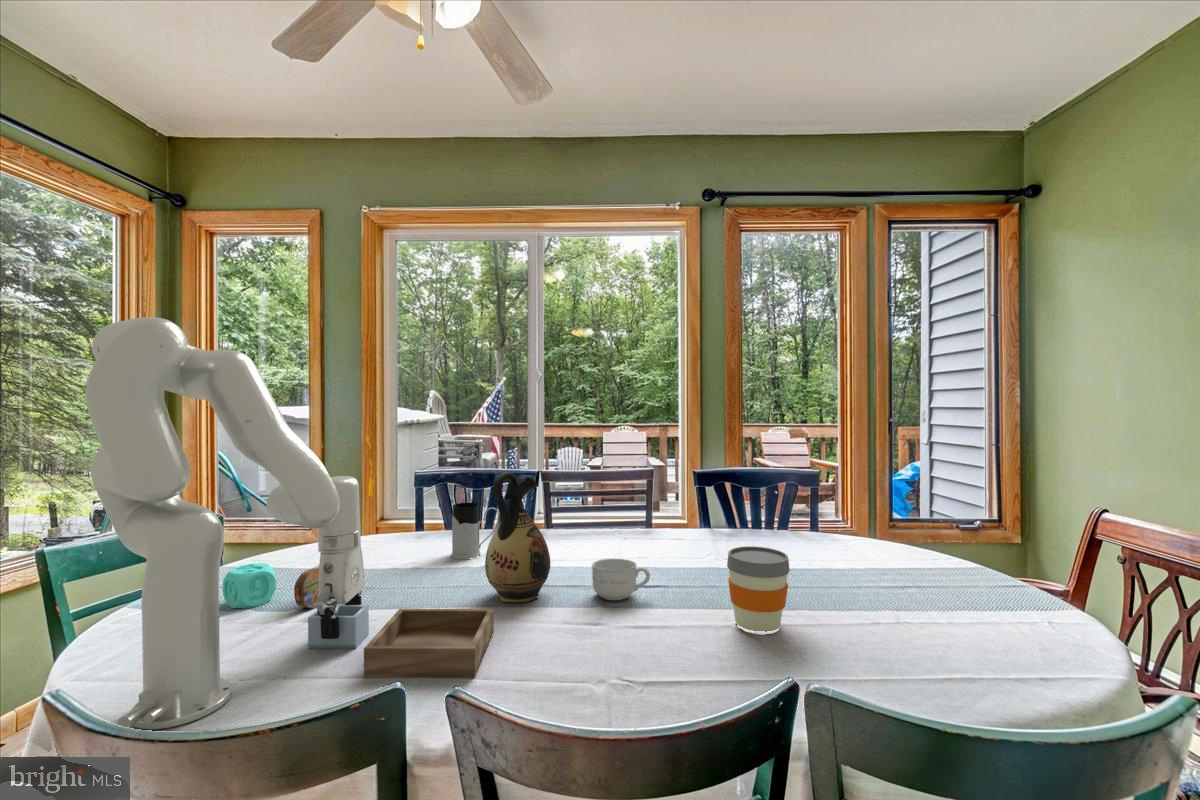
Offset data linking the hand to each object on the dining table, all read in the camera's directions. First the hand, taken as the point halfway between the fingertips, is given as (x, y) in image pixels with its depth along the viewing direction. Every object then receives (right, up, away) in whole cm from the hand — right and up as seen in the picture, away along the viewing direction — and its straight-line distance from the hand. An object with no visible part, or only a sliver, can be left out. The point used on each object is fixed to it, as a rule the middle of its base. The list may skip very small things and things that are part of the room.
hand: (342, 626), depth 108 cm
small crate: (0, -3, 0) cm, 3 cm away
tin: (-14, -3, +20) cm, 25 cm away
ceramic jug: (+30, -3, +23) cm, 38 cm away
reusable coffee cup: (+84, -3, +7) cm, 84 cm away
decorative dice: (-30, -3, +19) cm, 36 cm away
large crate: (+20, -3, -5) cm, 21 cm away
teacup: (+55, -3, +23) cm, 60 cm away
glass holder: (+13, -2, +57) cm, 58 cm away
